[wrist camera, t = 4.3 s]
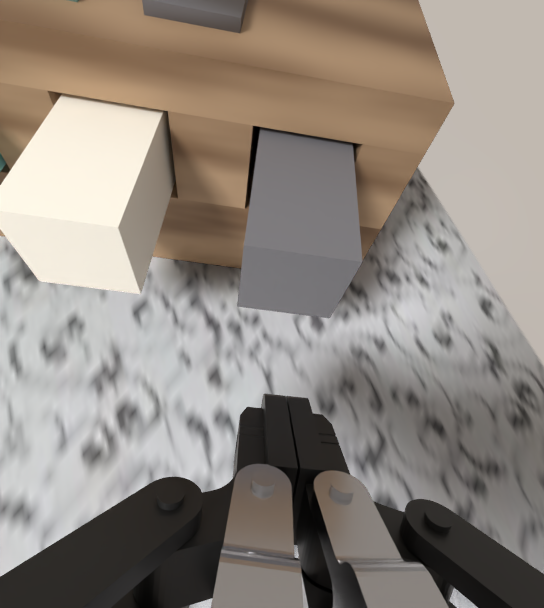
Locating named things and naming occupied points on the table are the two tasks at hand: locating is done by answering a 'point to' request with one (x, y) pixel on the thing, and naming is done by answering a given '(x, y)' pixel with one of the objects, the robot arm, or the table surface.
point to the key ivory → (91, 194)
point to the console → (234, 93)
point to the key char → (300, 225)
